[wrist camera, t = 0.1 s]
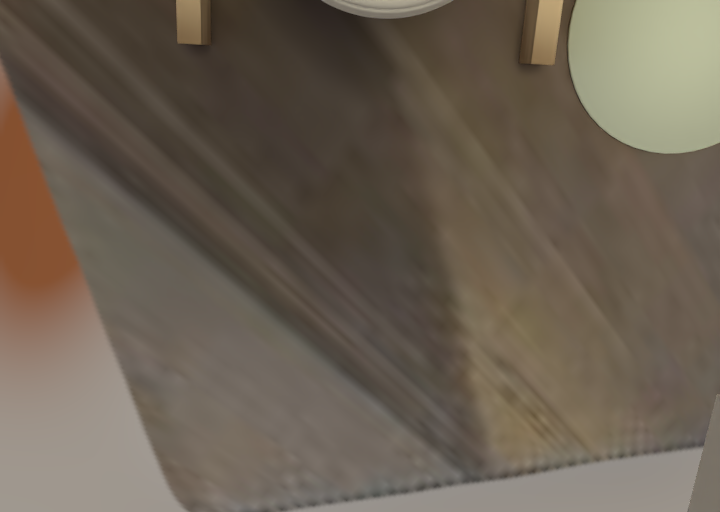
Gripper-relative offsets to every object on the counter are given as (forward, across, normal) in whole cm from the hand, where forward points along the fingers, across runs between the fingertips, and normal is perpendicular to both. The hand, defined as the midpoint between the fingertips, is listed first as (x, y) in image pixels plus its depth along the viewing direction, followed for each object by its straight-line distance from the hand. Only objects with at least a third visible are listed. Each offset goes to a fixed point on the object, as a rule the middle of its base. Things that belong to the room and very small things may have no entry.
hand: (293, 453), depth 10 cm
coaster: (+28, +19, +8) cm, 35 cm away
